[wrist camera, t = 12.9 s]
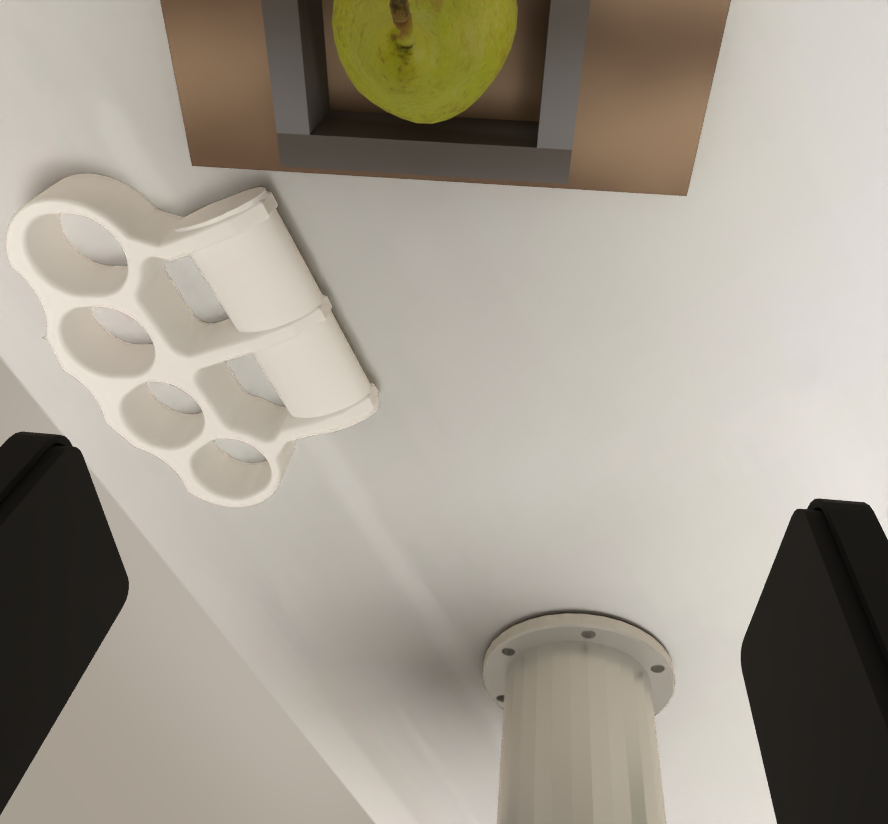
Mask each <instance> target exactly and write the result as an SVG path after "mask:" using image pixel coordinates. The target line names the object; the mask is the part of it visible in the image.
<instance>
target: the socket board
mask: <svg viewBox="0 0 888 824" xmlns="http://www.w3.org/2000/svg"><path fill="white" fill-rule="evenodd" d="M160 1H161V6H162V12H163V17H164V22H165V27H166V32H167V38H168V43H169V48H170V53H171V58H172V64H173V69H174V74H175V79H176V84H177V90H178V95H179V100H180V105H181V110H182V116H183V121H184V126H185V131H186V136H187V142H188V147H189V152H190V157H191V162H192V166H205V167H221V168H237V169H254V170H270V171H286V172H303V173H319V174H335V175H352V176H368V177H385V178H401V179H417V180H434V181H450V182H466V183H483V184H499V185H516V186H532V187H548V188H565V189H581V190H597V191H614V192H630V193H646V194H663V195H679V196H687V192H688V188H689V183H690V179H691V174H692V170H693V166H694V161H695V157H696V152H697V148H698V143H699V139H700V135H701V130H702V126H703V121H704V117H705V112H706V108H707V104H708V99H709V95H710V90H711V86H712V81H713V77H714V73H715V68H716V64H717V59H718V55H719V50H720V46H721V42H722V37H723V33H724V28H725V24H726V20H727V15H728V11H729V6H730V2H731V0H517V6H518V14H517V29H516V33H515V36H514V40H513V44H512V48H511V50H510V52H509V54H508V56H507V58H506V60H505V62H504V65H503V67H502V69H501V70H500V72H499V73H498V75H497V76H496V78H495V79H494V81H493V82H492V84H491V85H490V86H489V87H488V88H487V90H486V91H485V92H484V93H483V94H482V95H481V97H480V98H479V99H478V100H476V101H475V102H474V103H473V104H472V105H471V106H470V107H469V108H468V109H467V110H465V111H463V112H461V113H459V114H458V115H456V116H454V117H452V118H450V119H448V120H445V121H441V122H437V123H434V124H428V123H415V122H411V121H408V120H405V119H402V118H399V117H397V116H395V115H393V114H391V113H389V112H387V111H385V110H383V109H382V108H380V107H378V106H377V105H375V104H374V103H372V102H371V101H370V100H368V99H367V98H366V97H365V96H363V95H362V94H361V93H360V92H359V91H358V90H357V89H356V87H355V86H354V85H353V83H352V82H351V80H350V79H349V77H348V76H347V74H346V72H345V69H344V67H343V65H342V63H341V61H340V59H339V55H338V52H337V48H336V45H335V41H334V34H333V27H332V14H333V3H334V0H160Z"/></svg>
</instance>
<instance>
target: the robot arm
mask: <svg viewBox="0 0 888 824" xmlns="http://www.w3.org/2000/svg"><path fill="white" fill-rule="evenodd" d="M128 590H129V581H128V576H127V574H126V571H125V568H124V566H123V563H122V560H121V557H120V555H119V552H118V549H117V547H116V544H115V542H114V538H113V536H112V533H111V531H110V528H109V525H108V522H107V520H106V517H105V515H104V511H103V509H102V506H101V503H100V501H99V498H98V495H97V492H96V490H95V487H94V484H93V482H92V479H91V476H90V473H89V471H88V468H87V465H86V463H85V460H84V457H83V455H82V453H81V451H80V450H79V449H78V448H77V447H73V446H72V444H71V442H70V441H69V439H67V438H66V437H65V436H62V435H55V434H44V433H31V432H19V433H15V434H14V435H12V436H11V437H10V438H9V439H8V440H7V441H6V442H5V443H4V444H3V445H2V446H1V447H0V815H1V813H2V811H3V810H4V808H5V806H6V804H7V803H8V801H9V799H10V798H11V796H12V794H13V793H14V791H15V789H16V788H17V786H18V784H19V782H20V781H21V779H22V777H23V776H24V774H25V772H26V771H27V769H28V767H29V765H30V763H31V762H32V760H33V758H34V757H35V755H36V754H37V752H38V750H39V748H40V747H41V745H42V743H43V741H44V740H45V738H46V737H47V735H48V733H49V731H50V730H51V728H52V726H53V725H54V723H55V721H56V720H57V717H58V716H59V714H60V713H61V711H62V709H63V708H64V706H65V704H66V703H67V701H68V699H69V697H70V696H71V694H72V692H73V691H74V689H75V687H76V686H77V684H78V682H79V680H80V678H81V677H82V675H83V674H84V672H85V670H86V669H87V667H88V665H89V663H90V662H91V660H92V658H93V657H94V655H95V653H96V651H97V650H98V648H99V646H100V645H101V643H102V641H103V639H104V638H105V636H106V634H107V633H108V631H109V629H110V627H111V626H112V624H113V623H114V621H115V619H116V617H117V616H118V614H119V612H120V611H121V609H122V607H123V605H124V603H125V601H126V599H127V595H128ZM741 667H742V673H743V677H744V681H745V686H746V690H747V694H748V699H749V703H750V707H751V712H752V716H753V720H754V725H755V729H756V733H757V738H758V742H759V746H760V751H761V755H762V760H763V764H764V768H765V773H766V777H767V781H768V786H769V790H770V794H771V799H772V803H773V807H774V812H775V816H776V820H777V824H888V539H887V537H886V535H885V533H884V531H883V529H882V527H881V525H880V523H879V521H878V519H877V517H876V515H875V513H874V511H873V510H872V508H871V507H870V505H868V504H866V503H865V502H853V501H841V500H829V499H814V500H813V501H812V502H811V503H810V505H809V506H808V508H807V509H797V510H796V511H794V513H793V515H792V517H791V520H790V522H789V525H788V527H787V530H786V532H785V535H784V537H783V540H782V543H781V545H780V548H779V550H778V553H777V555H776V558H775V560H774V563H773V565H772V568H771V571H770V573H769V576H768V578H767V581H766V583H765V586H764V588H763V591H762V594H761V596H760V599H759V601H758V604H757V606H756V609H755V611H754V614H753V616H752V619H751V622H750V624H749V627H748V629H747V632H746V634H745V637H744V639H743V643H742V648H741ZM483 681H484V685H485V688H486V690H487V692H488V693H489V695H490V697H491V698H492V699H493V700H494V701H495V702H496V703H497V704H498V705H499V706H500V707H501V708H502V709H503V710H504V712H503V728H502V745H501V762H500V779H499V796H498V813H497V824H666V816H665V807H664V798H663V789H662V780H661V771H660V762H659V754H658V745H657V736H656V727H655V718H654V716H655V715H656V714H658V713H659V712H660V711H661V710H662V709H663V708H664V707H665V706H666V705H667V704H668V702H669V701H670V699H671V697H672V695H673V692H674V687H675V678H674V670H673V665H672V662H671V659H670V656H669V655H668V653H667V652H666V650H665V649H664V648H663V646H662V645H661V644H660V643H658V642H657V641H656V640H655V639H654V638H653V637H652V636H650V635H649V634H647V633H645V632H644V631H642V630H640V629H639V628H637V627H634V626H632V625H630V624H627V623H625V622H622V621H619V620H615V619H612V618H608V617H604V616H598V615H591V614H576V613H563V614H554V615H546V616H541V617H537V618H533V619H529V620H527V621H524V622H521V623H519V624H516V625H514V626H512V627H511V628H509V629H507V630H506V631H504V632H503V633H501V634H500V635H499V636H498V637H497V638H496V639H495V640H494V641H493V642H492V643H491V645H490V646H489V648H488V649H487V651H486V654H485V658H484V664H483Z"/></svg>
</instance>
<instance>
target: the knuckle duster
mask: <svg viewBox="0 0 888 824" xmlns="http://www.w3.org/2000/svg"><path fill="white" fill-rule="evenodd" d="M277 206H278V204H277V202H276V200H275V198H274V196H273V195H272V193H271V192H269V191H266V189H265V188H264V187H257V188H252V189H248V190H245V191H243V192H240V193H238V194H235V195H232V196H230V197H227V198H225V199H222V200H219V201H217V202H214V203H212V204H209V205H207V206H205V207H203V208H201V209H199V210H197V211H195V212H193V213H191V214H189V215H188V216H186V217H182V216H178V215H175V214H171V213H167V212H164V211H160V210H158V209H157V208H155V207H154V206H153V205H152V204H151V203H150V202H149V201H148V200H147V199H146V198H145V197H144V196H143V195H141V194H140V193H139V192H137V191H136V190H135V189H133V188H131V187H130V186H128V185H126V184H124V183H122V182H120V181H118V180H116V179H113V178H110V177H107V176H103V175H98V174H88V173H84V174H75V175H71V176H68V177H65V178H63V179H61V180H60V181H58V182H57V183H55V184H54V185H52V186H51V187H49V188H48V189H46V190H45V191H43V192H42V193H41V194H39V195H38V196H36V197H35V198H33V199H32V200H30V201H29V202H27V203H26V204H24V205H23V206H22V207H21V208H20V209H19V210H18V211H17V212H16V213H15V214H14V216H13V217H12V219H11V221H10V223H9V225H8V229H7V233H6V251H7V256H8V260H9V263H10V265H11V267H13V268H14V269H15V270H16V271H17V272H18V273H19V274H20V275H21V276H22V277H23V278H24V279H25V280H26V281H27V282H28V283H29V285H30V286H31V287H32V288H33V290H34V291H35V293H36V294H37V296H38V298H39V300H40V302H41V304H42V306H43V309H44V312H45V315H46V321H47V331H46V335H45V336H44V337H42V338H44V339H46V340H48V341H49V343H50V345H51V347H52V349H53V351H54V353H55V355H56V357H57V359H58V361H59V363H60V365H61V367H62V369H63V370H64V371H65V372H67V373H69V374H70V375H72V376H73V377H74V378H76V379H77V380H78V381H79V382H81V383H82V384H83V385H84V386H85V387H86V388H87V389H88V390H89V391H90V392H91V394H92V395H93V396H94V397H95V399H96V400H97V402H98V403H99V405H100V407H101V409H102V412H103V415H104V419H105V422H106V423H107V424H108V425H109V426H111V427H112V428H113V429H114V430H115V431H117V432H118V433H119V434H120V435H121V436H123V437H124V438H125V439H126V440H127V441H128V442H130V443H131V444H132V445H133V446H134V447H137V448H140V449H142V450H145V451H147V452H149V453H151V454H153V455H155V456H157V457H158V458H160V459H161V460H163V461H164V462H165V463H167V464H168V465H169V466H170V467H171V468H172V469H173V470H174V471H175V472H176V473H177V474H178V475H179V477H180V478H181V479H182V481H183V483H184V485H185V487H186V490H187V491H188V492H190V493H191V494H193V495H195V496H196V497H198V498H200V499H203V500H205V501H207V502H210V503H213V504H217V505H221V506H228V507H246V506H251V505H255V504H258V503H260V502H262V501H264V500H266V499H267V498H269V497H270V496H271V495H272V494H273V493H274V492H275V490H276V489H277V487H278V486H279V484H280V481H281V479H282V477H283V474H284V472H285V470H286V467H287V465H288V463H289V460H290V458H291V456H292V453H293V451H294V449H295V445H296V440H298V439H302V438H306V437H310V436H314V435H318V434H325V433H331V432H335V431H338V430H342V429H345V428H347V427H350V426H352V425H354V424H356V423H359V422H361V421H362V420H364V419H366V418H368V417H369V416H371V415H372V414H374V413H375V412H376V411H377V409H378V408H379V406H380V401H379V399H378V394H379V392H378V390H377V389H376V387H375V385H374V384H372V383H370V382H369V380H368V379H367V377H366V375H365V373H364V371H363V369H362V367H361V366H360V364H359V362H358V360H357V358H356V356H355V354H354V353H353V351H352V349H351V347H350V345H349V343H348V341H347V340H346V338H345V336H344V334H343V332H342V330H341V328H340V327H339V325H338V323H337V321H336V319H335V317H334V315H333V314H332V312H331V308H332V305H331V303H330V301H329V299H328V297H327V296H325V295H322V293H321V291H320V289H319V288H318V286H317V284H316V282H315V280H314V278H313V276H312V275H311V273H310V271H309V269H308V267H307V265H306V263H305V262H304V260H303V258H302V256H301V254H300V252H299V250H298V249H297V247H296V245H295V243H294V241H293V239H292V237H291V236H290V234H289V232H288V230H287V228H286V226H285V224H284V223H283V221H282V219H281V217H280V215H279V213H278V211H277V210H276V208H277ZM60 214H78V215H82V216H85V217H87V218H90V219H92V220H94V221H96V222H97V223H99V224H100V225H102V226H103V227H104V228H106V229H107V230H108V231H109V232H110V233H111V234H112V235H113V236H114V237H115V238H116V240H117V241H118V242H119V244H120V245H121V247H122V249H123V251H124V253H125V256H126V259H127V264H128V266H107V265H102V264H99V263H96V262H94V261H92V260H90V259H88V258H87V257H85V256H84V255H82V254H81V253H80V252H79V251H77V250H76V249H75V248H74V246H73V245H72V244H71V243H70V242H69V240H68V239H67V237H66V235H65V233H64V231H63V229H62V226H61V222H60ZM189 254H190V256H191V257H192V259H193V261H194V262H195V264H196V265H197V267H198V268H199V270H200V272H201V273H202V275H203V276H204V278H205V280H206V281H207V283H208V284H209V286H210V288H211V289H212V291H213V292H214V294H215V295H216V297H217V299H218V300H219V302H220V303H221V305H222V307H223V308H224V310H225V311H226V313H227V314H228V316H229V318H230V319H226V320H223V321H220V322H217V323H205V322H203V321H201V320H199V319H198V318H197V317H196V316H195V315H194V314H193V313H192V311H191V310H190V308H189V307H188V305H187V304H186V302H185V301H184V299H183V298H182V296H181V295H180V293H179V292H178V290H177V289H176V287H175V286H174V284H173V283H172V281H171V279H170V278H169V276H168V275H167V273H166V272H165V269H164V263H165V260H168V261H173V260H175V259H178V258H181V257H184V256H187V255H189ZM91 307H107V308H112V309H116V310H118V311H121V312H123V313H125V314H127V315H128V316H130V317H132V318H133V319H134V320H136V321H137V322H138V323H139V324H140V325H141V326H142V327H143V328H144V329H145V330H146V332H147V333H148V334H149V336H150V338H151V340H152V342H153V344H132V343H128V342H125V341H122V340H120V339H118V338H116V337H114V336H113V335H111V334H110V333H108V332H107V331H106V330H105V329H104V328H103V327H102V326H101V325H100V324H99V322H98V321H97V319H96V318H95V316H94V314H93V312H92V309H91ZM251 353H252V354H253V356H254V357H255V359H256V360H257V362H258V364H259V365H260V367H261V368H262V370H263V371H264V373H265V375H266V376H267V378H268V379H269V381H270V382H271V384H272V386H273V387H274V389H275V390H276V392H277V394H278V395H279V397H280V398H281V400H282V401H283V403H284V405H285V406H277V405H275V404H273V403H271V402H269V401H267V400H265V399H262V398H259V397H256V396H252V395H249V394H248V393H246V392H245V391H244V390H243V388H242V387H241V385H240V384H239V382H238V381H237V379H236V378H235V376H234V375H233V373H232V372H231V370H230V369H229V367H228V366H227V364H226V363H225V361H228V360H231V359H234V358H237V357H241V356H244V355H247V354H251ZM151 381H157V382H164V383H168V384H171V385H174V386H176V387H178V388H180V389H182V390H183V391H185V392H186V393H188V394H189V395H190V396H191V397H192V398H193V399H194V400H195V401H196V402H197V403H198V405H199V406H200V408H201V410H202V412H201V413H197V414H184V413H180V412H176V411H174V410H171V409H169V408H167V407H166V406H164V405H163V404H161V403H160V402H159V401H158V400H157V399H156V398H155V397H154V396H153V394H152V393H151V391H150V390H149V388H148V385H147V382H151ZM222 438H228V439H235V440H239V441H242V442H245V443H247V444H249V445H251V446H252V447H254V448H255V449H257V450H258V451H259V452H260V453H262V455H263V456H264V457H265V458H266V459H267V460H266V461H263V462H259V463H247V462H242V461H238V460H236V459H234V458H231V457H230V456H228V455H227V454H225V453H224V452H223V451H222V450H221V449H220V448H219V447H218V446H217V445H216V443H215V442H214V440H216V439H222Z"/></svg>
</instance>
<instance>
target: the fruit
mask: <svg viewBox="0 0 888 824" xmlns="http://www.w3.org/2000/svg"><path fill="white" fill-rule="evenodd" d="M517 14H518V6H517V0H334V3H333V14H332V27H333V34H334V41H335V45H336V48H337V52H338V55H339V59H340V61H341V63H342V65H343V67H344V69H345V72H346V74H347V76H348V77H349V79H350V80H351V82H352V83H353V85H354V86H355V87H356V89H357V90H358V91H359V92H360V93H361V94H362V95H363V96H365V97H366V98H367V99H368V100H370V101H371V102H372V103H374V104H375V105H377V106H378V107H380V108H382V109H383V110H385V111H387V112H389V113H391V114H393V115H395V116H397V117H399V118H402V119H405V120H408V121H411V122H415V123H428V124H434V123H437V122H441V121H445V120H448V119H450V118H452V117H454V116H456V115H458V114H459V113H461V112H463V111H465V110H467V109H468V108H469V107H470V106H471V105H472V104H473V103H474V102H475V101H476V100H478V99H479V98H480V97H481V95H482V94H483V93H484V92H485V91H486V90H487V88H488V87H489V86H490V85H491V84H492V82H493V81H494V79H495V78H496V76H497V75H498V73H499V72H500V70H501V69H502V67H503V65H504V62H505V60H506V58H507V56H508V54H509V52H510V50H511V48H512V44H513V40H514V36H515V33H516V29H517Z"/></svg>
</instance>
